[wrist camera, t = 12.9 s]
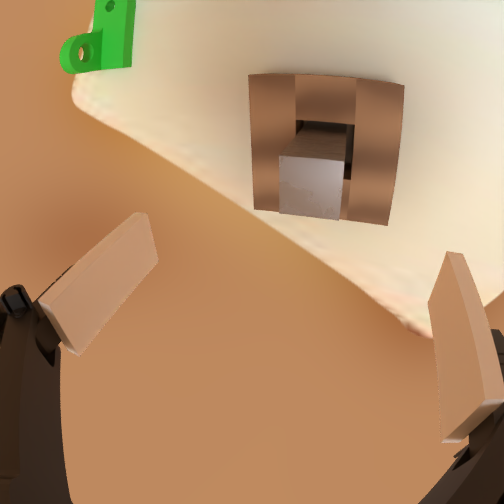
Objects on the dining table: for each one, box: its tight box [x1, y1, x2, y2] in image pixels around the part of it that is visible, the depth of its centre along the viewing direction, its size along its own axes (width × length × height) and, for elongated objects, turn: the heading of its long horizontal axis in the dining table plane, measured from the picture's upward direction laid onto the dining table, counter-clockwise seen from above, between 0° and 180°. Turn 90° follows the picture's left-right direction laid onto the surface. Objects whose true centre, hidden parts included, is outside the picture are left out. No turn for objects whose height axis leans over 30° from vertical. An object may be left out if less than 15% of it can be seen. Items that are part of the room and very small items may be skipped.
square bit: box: [279, 121, 347, 220], centre depth 25 cm, size 4×4×15 cm
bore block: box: [248, 74, 404, 226], centre depth 29 cm, size 14×14×6 cm
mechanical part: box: [60, 0, 136, 74], centre depth 27 cm, size 12×6×8 cm, turn 174°
